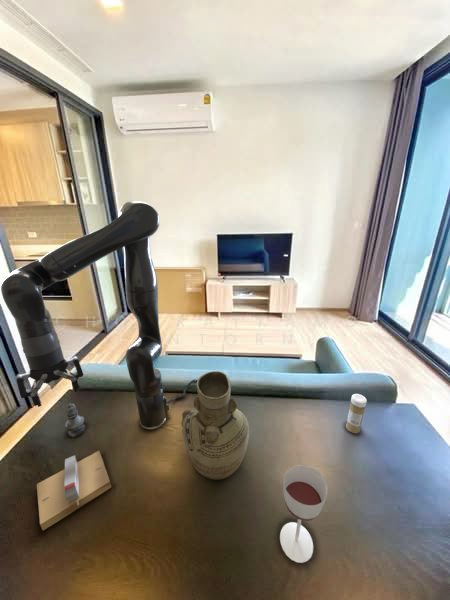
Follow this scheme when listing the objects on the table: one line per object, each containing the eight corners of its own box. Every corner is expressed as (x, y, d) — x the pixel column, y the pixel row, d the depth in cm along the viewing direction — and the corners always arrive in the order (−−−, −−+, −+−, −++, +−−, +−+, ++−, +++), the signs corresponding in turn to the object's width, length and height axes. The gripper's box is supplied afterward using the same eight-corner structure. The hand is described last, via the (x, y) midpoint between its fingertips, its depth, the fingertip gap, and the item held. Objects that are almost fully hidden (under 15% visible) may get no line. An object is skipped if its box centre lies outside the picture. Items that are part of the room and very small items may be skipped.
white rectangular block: (68, 469, 72) (64, 458, 71) (78, 465, 73) (74, 454, 72) (67, 502, 64) (63, 491, 63) (78, 497, 65) (75, 485, 64)
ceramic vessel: (205, 422, 91) (201, 351, 80) (258, 449, 80) (262, 371, 70) (168, 465, 76) (158, 385, 65) (228, 505, 65) (227, 418, 55)
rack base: (99, 453, 79) (98, 447, 79) (112, 490, 69) (111, 484, 68) (38, 486, 70) (36, 480, 69) (43, 535, 60) (40, 528, 59)
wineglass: (273, 523, 62) (278, 466, 55) (307, 519, 62) (317, 463, 55) (283, 566, 54) (290, 507, 47) (321, 561, 55) (335, 502, 48)
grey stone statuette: (77, 438, 85) (69, 411, 81) (63, 435, 86) (54, 408, 82) (89, 424, 90) (82, 398, 86) (75, 422, 91) (68, 395, 87)
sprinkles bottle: (361, 428, 87) (369, 398, 83) (356, 436, 85) (364, 405, 80) (348, 421, 91) (354, 391, 86) (343, 428, 88) (349, 397, 83)
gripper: (71, 333, 71) (83, 380, 77) (6, 350, 63) (25, 401, 68) (76, 343, 65) (89, 393, 71) (6, 364, 57) (27, 418, 63)
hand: (58, 397), depth 70 cm, fingers open, 8 cm apart
